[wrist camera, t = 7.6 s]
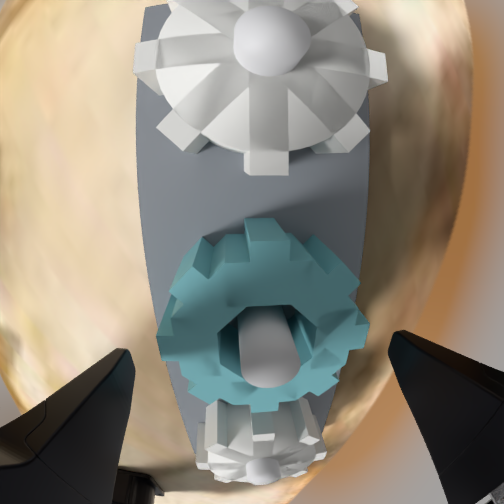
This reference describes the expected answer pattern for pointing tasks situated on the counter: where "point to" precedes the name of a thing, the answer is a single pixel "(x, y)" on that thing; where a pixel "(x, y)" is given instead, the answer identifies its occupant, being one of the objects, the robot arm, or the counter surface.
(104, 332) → the counter surface
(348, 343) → the teal gear
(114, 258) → the counter surface
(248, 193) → the gear board
